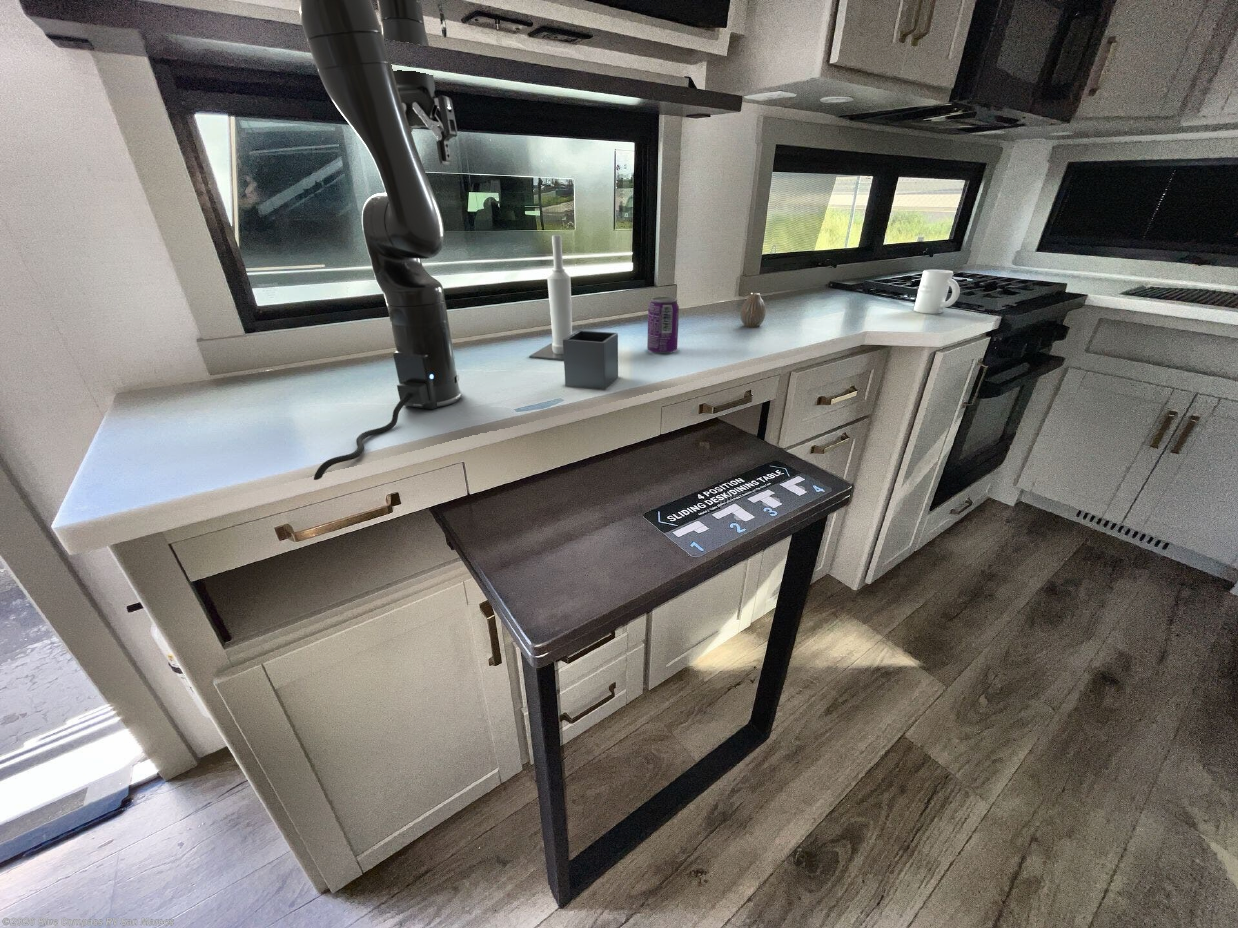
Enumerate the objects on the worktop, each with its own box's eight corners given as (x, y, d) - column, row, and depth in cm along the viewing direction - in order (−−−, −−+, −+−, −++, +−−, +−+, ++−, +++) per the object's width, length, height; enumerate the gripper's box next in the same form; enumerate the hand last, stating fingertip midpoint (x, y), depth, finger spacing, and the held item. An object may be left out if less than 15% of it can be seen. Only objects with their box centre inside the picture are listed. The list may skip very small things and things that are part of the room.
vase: (735, 326, 143) (738, 294, 139) (745, 322, 148) (748, 290, 144) (758, 329, 140) (762, 296, 136) (767, 324, 145) (771, 293, 141)
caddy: (605, 390, 96) (604, 343, 92) (565, 386, 98) (562, 339, 94) (618, 377, 103) (617, 332, 99) (580, 373, 105) (579, 330, 101)
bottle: (554, 355, 117) (546, 236, 105) (550, 349, 121) (542, 235, 109) (576, 353, 118) (570, 236, 106) (572, 347, 122) (566, 234, 111)
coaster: (577, 361, 113) (577, 360, 113) (529, 357, 116) (529, 356, 116) (596, 348, 123) (596, 346, 123) (551, 345, 126) (551, 343, 126)
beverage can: (682, 350, 121) (685, 298, 116) (668, 357, 116) (670, 303, 110) (656, 346, 125) (658, 295, 119) (641, 352, 120) (642, 300, 114)
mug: (944, 317, 153) (956, 275, 147) (907, 310, 162) (917, 270, 156) (960, 314, 156) (972, 273, 151) (923, 307, 165) (933, 268, 160)
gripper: (359, 56, 87) (380, 165, 95) (429, 49, 83) (446, 163, 91) (389, 66, 93) (407, 167, 101) (456, 59, 89) (469, 165, 97)
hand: (425, 165), depth 96 cm, fingers open, 8 cm apart
